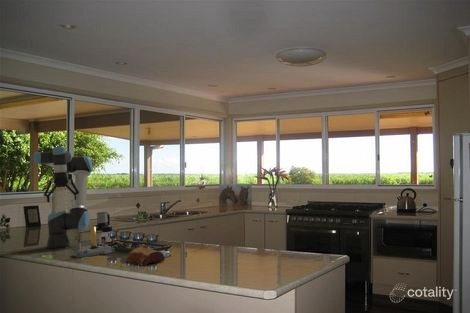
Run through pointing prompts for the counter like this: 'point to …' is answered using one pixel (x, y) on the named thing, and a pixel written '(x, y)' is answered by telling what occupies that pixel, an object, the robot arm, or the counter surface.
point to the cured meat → (144, 256)
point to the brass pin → (93, 237)
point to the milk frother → (102, 220)
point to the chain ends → (94, 251)
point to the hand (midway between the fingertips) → (62, 206)
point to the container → (105, 234)
